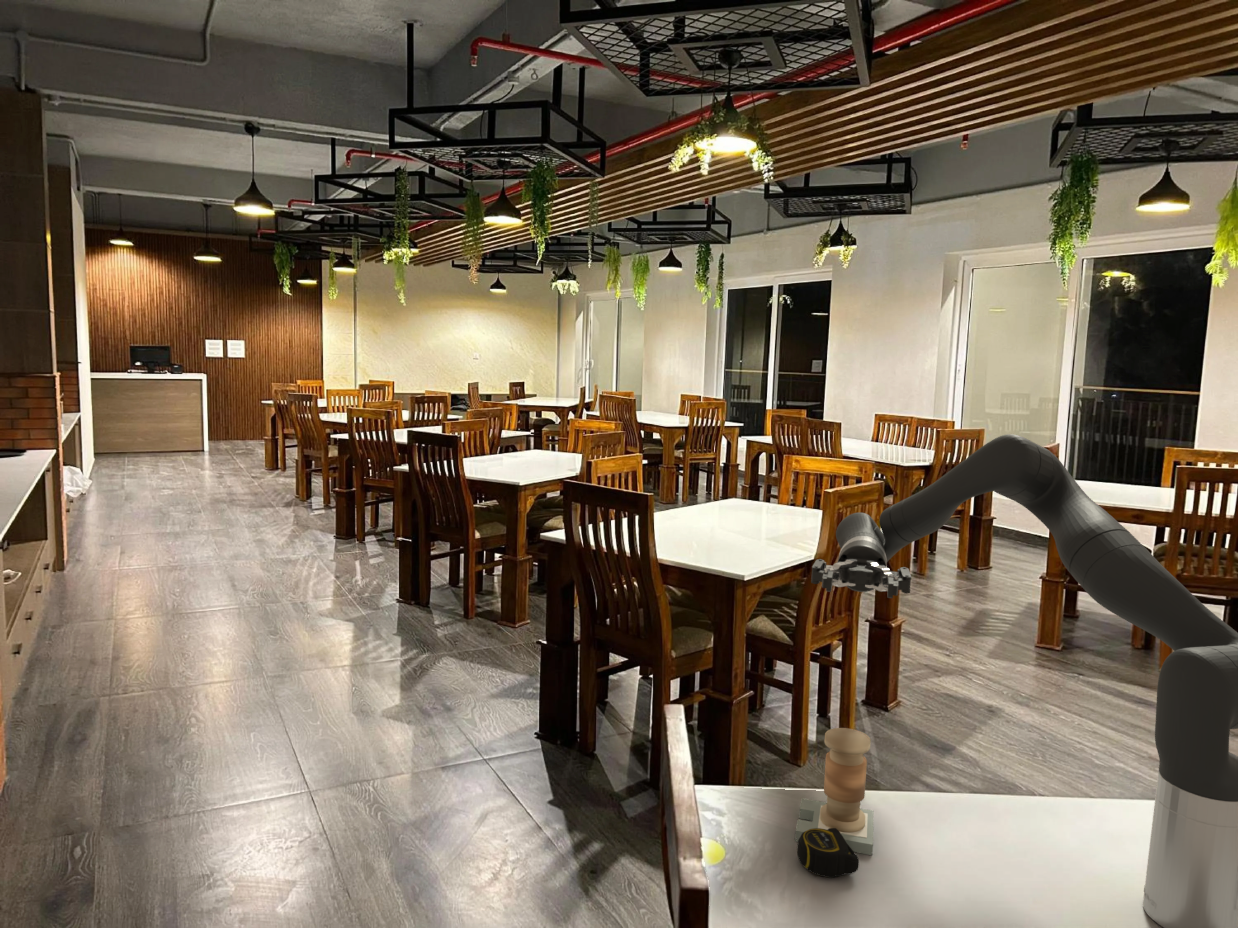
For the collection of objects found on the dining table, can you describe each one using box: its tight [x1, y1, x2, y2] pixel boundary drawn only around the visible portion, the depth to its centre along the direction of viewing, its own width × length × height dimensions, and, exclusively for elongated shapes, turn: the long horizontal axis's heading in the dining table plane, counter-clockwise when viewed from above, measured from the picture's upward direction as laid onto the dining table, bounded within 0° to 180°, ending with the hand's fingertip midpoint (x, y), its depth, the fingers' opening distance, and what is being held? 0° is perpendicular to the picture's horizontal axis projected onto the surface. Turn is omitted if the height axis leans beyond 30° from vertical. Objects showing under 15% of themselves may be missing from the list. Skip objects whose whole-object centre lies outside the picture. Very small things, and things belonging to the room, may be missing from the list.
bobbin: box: [820, 727, 872, 832], centre depth 119 cm, size 6×6×12 cm
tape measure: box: [796, 828, 860, 878], centre depth 111 cm, size 7×7×4 cm
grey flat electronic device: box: [794, 797, 875, 856], centre depth 120 cm, size 10×9×2 cm
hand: (859, 588), depth 124 cm, fingers open, 8 cm apart
